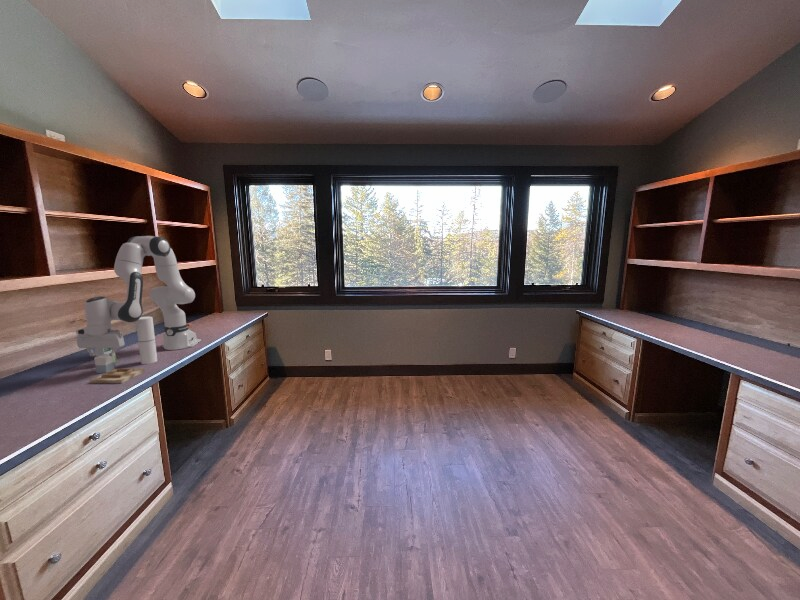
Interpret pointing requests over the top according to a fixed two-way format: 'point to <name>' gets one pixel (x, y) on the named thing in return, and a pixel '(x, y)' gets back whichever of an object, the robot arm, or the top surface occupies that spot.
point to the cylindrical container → (146, 340)
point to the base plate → (117, 376)
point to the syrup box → (104, 352)
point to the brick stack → (104, 363)
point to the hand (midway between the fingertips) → (102, 356)
